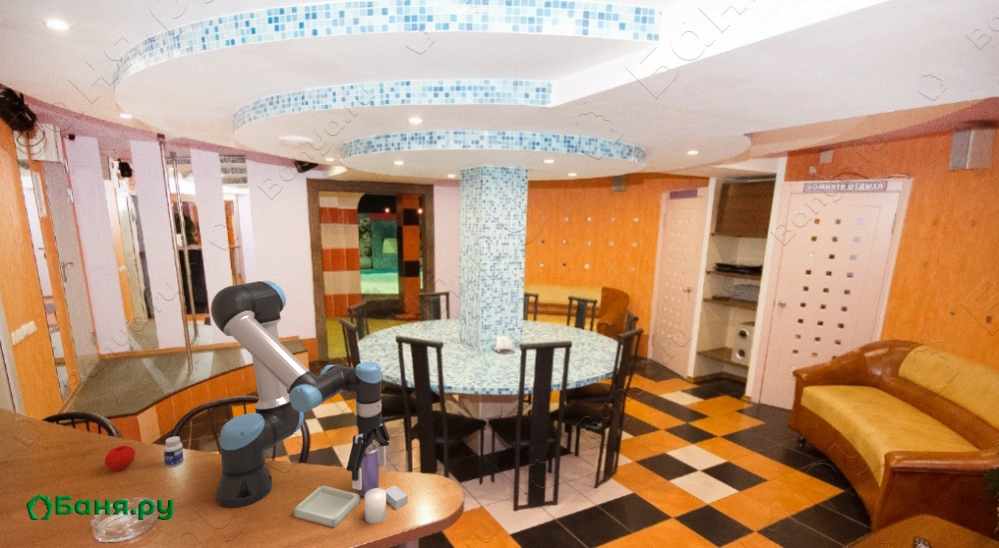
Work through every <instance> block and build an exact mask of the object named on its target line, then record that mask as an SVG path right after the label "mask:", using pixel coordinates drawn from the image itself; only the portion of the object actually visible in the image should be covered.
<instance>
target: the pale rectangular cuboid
mask: <svg viewBox="0 0 999 548" xmlns="http://www.w3.org/2000/svg"><path fill="white" fill-rule="evenodd" d="M384 490H385V491H386V503H388V504H389V505H390V506H391V507H392V508H394V509H395V510H398V509H400V508H402V507H404V506H406V505H408V494H407V493H405V492H404V491H403V490H401V489H400V488H399V487H397V486H396V485H395V484H394V485H392V486H390V487H388V488H386V489H384Z"/></svg>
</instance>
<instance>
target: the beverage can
mask: <svg viewBox="0 0 999 548" xmlns="http://www.w3.org/2000/svg"><path fill="white" fill-rule="evenodd" d="M360 468H361V472H362V489H361V490H358V492H359V493H358V494H359V495H360V496H361V497H364V498H365V494H366V492H367V491H369V490H371V489H374V488H380V485H379V484H380V476H379V475H380V465H379V449H378V444H375V443H370V444H369V447H368V448H367V449H366V452H365V454H364V457H363V460H362V463H361V466H360Z"/></svg>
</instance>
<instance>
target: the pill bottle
mask: <svg viewBox="0 0 999 548" xmlns="http://www.w3.org/2000/svg"><path fill="white" fill-rule="evenodd" d="M163 460H164V466H165V467H166V468H172V467H173V468H174V467H177V466H180V465H181V464H182V463H183V462H184V446H183V443H182V442H181V438H180V436H178V435H177V436H176V435H175V436H172V437H168V438H166V439H165V446H164V447H163Z"/></svg>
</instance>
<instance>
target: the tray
mask: <svg viewBox="0 0 999 548" xmlns="http://www.w3.org/2000/svg"><path fill="white" fill-rule="evenodd" d="M360 502H361V494H360V493H356V492H352V491H351V492H350V491H347V490H342V489H339V488H336V487H335V488H334V487H332V486H326V485H323V484H321V485H320V486H319V487H317V488H316V489H315V490H314V491H312V493H311V492H310V494H309V495H308V496H306V497H305V499H303V500H302V501H301V502H300V503H298V504H297V505H296V506H295V507H294V508H293V517H295V518H299V519H302V520H305V521H310V522H313V523H316V524H320V525H324V526H325V527H326V526H327V527H331V528H334V529H335V528H337V526H338V525H339V524H340V523H341V522H342V521H343V520H344V519H345V518H346V517H347V516H348V515H349V513H351V512H352V511H353V509H354V508H356V507H357V506H358V504H359V503H360Z"/></svg>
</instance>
